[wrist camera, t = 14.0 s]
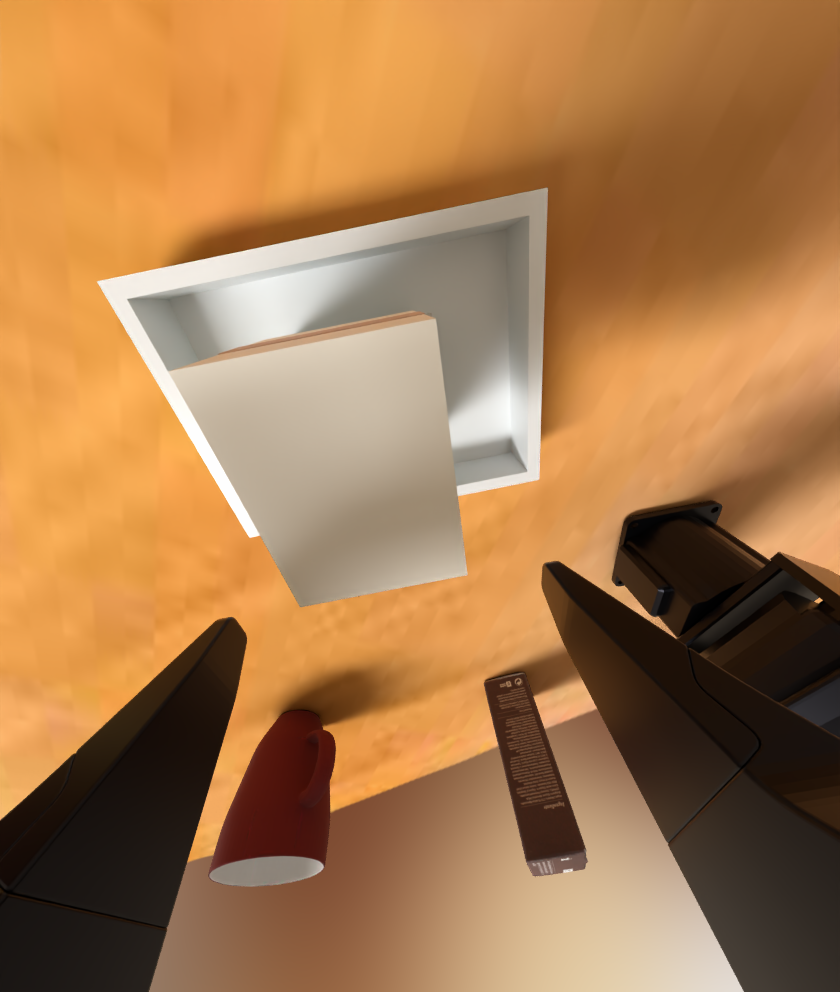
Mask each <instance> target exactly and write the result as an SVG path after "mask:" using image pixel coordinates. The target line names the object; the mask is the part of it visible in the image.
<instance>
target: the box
mask: <svg viewBox="0 0 840 992" xmlns="http://www.w3.org/2000/svg"><path fill="white" fill-rule="evenodd" d="M484 686H485V691H486V695H487V700H488V704H489V708H490V712H491V716H492V720H493V725H494V729H495V733H496V737H497V741H498V746H499V749H500V753H501V757H502V761H503V765H504V770H505V774H506V778H507V782H508V787H509V791H510V795H511V799H512V804H513V808H514V812H515V815H516V820H517V824H518V828H519V833H520V837H521V841H522V846H523V850H524V854H525V859H526V862H527V865H528V866H529V869H530V871H531V873H532V874H533V876H543V875H551V874H558V873H564V872H570V871H576V870H583V869H585V866H586V863H587V862H588V861H587V858H586V848H585V845H584V842H583V839H582V836H581V834H580V831H579V828H578V825H577V822H576V819H575V816H574V813H573V810H572V807H571V804H570V801H569V798H568V796H567V793H566V790H565V787H564V784H563V781H562V779H561V776H560V773H559V770H558V767H557V764H556V761H555V758H554V755H553V752H552V750H551V747H550V744H549V740H548V738H547V735H546V732H545V729H544V726H543V723H542V721H541V718H540V715H539V712H538V709H537V706H536V703H535V700H534V697H533V694H532V692H531V689H530V686H529V683H528V680H527V677H526V674H525V673H514V674H510V675H505V676H502V677H498V678H496V679H492V680H489V681H486V682H484Z"/></svg>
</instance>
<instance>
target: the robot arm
mask: <svg viewBox="0 0 840 992" xmlns="http://www.w3.org/2000/svg"><path fill="white" fill-rule="evenodd" d="M721 510H722V505H721V504H720V503H718V502H716V501H708V502H703V503H698V504H693V505H688V506H683V507H678V508H673V509H667V510H662V511H657V512H652V513H647V514H642V515H637V516H632V517H629V518H628V519H626V520H625V521H624V524H623V528H622V533H621V538H620V542H619V547H618V552H617V557H616V561H615V566H614V571H613V576H612V581H613V583H614V584H615V585H616V586H624V585H625V586H626V587H627V588H628V590H629V591H630V592H631V593H632V594H633V596H634V597H635V598H636V599H637V600H638V601H639V603H640V604H641V605H642V606H643V607H644V609H645V610H646V611H647V612H648V613H649V614H650V615H651V616H653V617H657V616H659V618H660V619H661V620H662V621H663V622H664V623H665V624H666V626H667V627H668V628H669V629H670V630H671V631H672V632H673V634H674V635H675V636H676V637H677V639H676V638H674V637H673V636H671V635H670V634H668V633H667V632H665V631H664V630H662V629H660V628H659V627H657V626H656V625H654V624H653V623H651V622H650V621H648V620H647V619H645V618H644V617H642V616H641V615H639V614H638V613H636V612H635V611H633V610H632V609H630V608H629V607H627V606H626V605H624V604H623V603H621V602H620V601H618V600H617V599H615V598H614V597H612V596H611V595H609V594H608V593H606V592H605V591H603V590H602V589H600V588H599V587H597V586H596V585H594V584H592V583H591V582H589V581H588V580H586V579H585V578H583V577H582V576H580V575H579V574H577V573H576V572H574V571H573V570H571V569H570V568H568V567H567V566H565V565H564V564H562V563H561V562H559V561H553V562H547V563H544V564H543V568H542V582H541V584H542V589H543V592H544V595H545V597H546V600H547V603H548V605H549V608H550V610H551V613H552V615H553V618H554V621H555V623H556V626H557V628H558V631H559V633H560V636H561V638H562V641H563V643H564V645H565V647H566V649H567V651H568V653H569V655H570V657H571V659H572V661H573V662H574V664H575V666H576V668H577V670H578V672H579V674H580V676H581V678H582V680H583V682H584V684H585V686H586V688H587V689H588V691H589V693H590V695H591V697H592V699H593V701H594V703H595V705H596V707H597V709H598V711H599V712H600V715H601V716H602V718H603V720H604V722H605V724H606V726H607V728H608V730H609V732H610V734H611V735H612V737H613V740H614V741H615V743H616V745H617V747H618V749H619V751H620V753H621V755H622V757H623V759H624V761H625V763H626V765H627V767H628V768H629V770H630V772H631V774H632V776H633V778H634V780H635V782H636V784H637V786H638V788H639V790H640V792H641V794H642V795H643V797H644V799H645V801H646V803H647V805H648V807H649V809H650V811H651V813H652V815H653V816H654V819H655V820H656V822H657V824H658V826H659V828H660V830H661V832H662V834H663V836H664V838H665V840H666V841H667V842H668V846H669V848H670V850H671V852H672V853H673V856H674V857H675V860H676V861H677V863H678V865H679V867H680V869H681V871H682V873H683V875H684V877H685V879H686V881H687V883H688V884H689V887H690V888H691V890H692V892H693V894H694V896H695V898H696V900H697V902H698V904H699V906H700V908H701V910H702V912H703V913H704V915H705V917H706V919H707V921H708V923H709V925H710V927H711V929H712V931H713V933H714V935H715V937H716V939H717V940H718V942H719V944H720V946H721V948H722V950H723V952H724V954H725V956H726V958H727V960H728V962H729V964H730V966H731V968H732V969H733V971H734V973H735V975H736V977H737V979H738V981H739V983H740V985H741V987H742V989H743V991H744V992H840V576H839V575H837V574H835V573H834V572H832V571H830V570H828V569H825V568H822V567H819V566H817V565H814V564H811V563H808V562H806V561H803V560H800V559H797V558H795V557H792V556H789V555H786V554H784V553H781V552H778V553H777V554H775V555H774V556H773V557H772V558H771V559H770V560H771V561H770V560H769V559H767V558H766V557H764V556H763V555H761V554H760V553H758V552H757V551H755V550H754V549H752V548H751V547H749V546H748V545H746V544H745V543H743V542H742V541H740V540H739V539H737V538H736V537H734V536H733V535H731V534H730V533H728V532H727V531H725V530H724V529H722V528H721V527H720V526H718V525H717V524H716V522H717V520H718V517H719V515H720V512H721ZM819 597H820V598H821V599H822V600H823V601H822V602H820V603H819V604H818V603H816V602H814V601H815V600H817V599H818V598H819ZM246 644H247V636H246V633H245V632H244V630H243V629H242V627H241V626H240V625H239V623H238V622H237V620H236V619H235V618H233V617H228V618H222V619H219V620H217V621H215V622H214V623H213V624H212V625H211V626H210V627H209V628H208V629H207V630H205V631H204V632H203V633H202V634H201V635H200V636H199V637H198V638H197V639H196V640H195V641H194V642H193V643H192V644H190V645H189V646H188V647H187V648H186V649H185V650H184V651H183V652H182V653H181V654H180V655H179V656H178V657H177V658H176V659H174V660H173V661H172V662H171V663H170V664H169V665H168V666H167V667H166V668H165V669H164V670H163V671H162V672H161V673H159V674H158V675H157V676H156V677H155V678H154V679H153V680H152V681H151V682H150V683H149V684H148V685H147V686H146V687H144V688H143V689H142V690H141V691H140V692H139V693H138V694H137V695H136V696H135V697H134V698H133V699H132V700H131V701H129V702H128V703H127V704H126V705H125V706H124V707H123V708H122V709H121V710H120V711H119V712H118V713H117V714H116V715H114V716H113V717H112V718H111V719H110V720H109V721H108V722H107V723H106V724H105V725H104V726H103V727H102V728H101V729H100V730H98V731H97V732H96V733H95V734H94V735H93V736H92V737H91V738H90V739H89V740H88V741H87V742H86V743H85V744H83V745H82V746H81V747H80V748H79V749H78V750H77V752H76V753H75V754H73V755H72V756H70V757H69V758H68V759H67V760H66V761H65V762H64V763H63V764H62V765H61V766H60V767H59V768H58V769H57V770H56V771H54V772H53V773H52V774H51V775H50V776H49V777H48V778H47V779H46V780H45V781H44V782H42V783H41V784H40V785H39V786H38V787H37V788H36V789H35V790H34V791H33V792H32V793H30V794H29V795H28V796H27V797H26V798H25V799H24V800H23V801H22V802H20V803H19V804H18V805H17V806H16V807H15V808H14V809H12V810H11V811H10V812H9V813H8V814H7V815H6V816H5V817H3V818H2V819H1V820H0V992H149V990H150V986H151V983H152V979H153V976H154V973H155V969H156V966H157V963H158V959H159V956H160V952H161V949H162V946H163V942H164V939H165V936H166V932H167V926H168V925H169V921H170V918H171V915H172V911H173V908H174V905H175V901H176V898H177V894H178V891H179V887H180V884H181V881H182V877H183V874H184V871H185V867H186V864H187V861H188V857H189V854H190V851H191V847H192V844H193V841H194V837H195V834H196V830H197V827H198V824H199V820H200V817H201V814H202V810H203V807H204V804H205V800H206V797H207V793H208V790H209V787H210V783H211V780H212V777H213V773H214V770H215V767H216V763H217V760H218V756H219V753H220V750H221V746H222V743H223V740H224V736H225V733H226V729H227V726H228V723H229V719H230V716H231V713H232V709H233V706H234V702H235V698H236V694H237V690H238V685H239V680H240V675H241V670H242V665H243V659H244V654H245V649H246Z"/></svg>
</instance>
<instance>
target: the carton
mask: <svg viewBox="0 0 840 992" xmlns="http://www.w3.org/2000/svg"><path fill="white" fill-rule="evenodd" d="M168 372H169V374H170V376H171V378H172V379H173V381H174V383H175V385H176V386H177V388H178V390H179V392H180V394H181V395H182V397H183V399H184V401H185V402H186V404H187V406H188V408H189V410H190V411H191V413H192V415H193V417H194V419H195V420H196V422H197V424H198V426H199V427H200V429H201V431H202V433H203V435H204V436H205V438H206V440H207V442H208V444H209V445H210V447H211V449H212V451H213V452H214V454H215V456H216V458H217V460H218V461H219V463H220V465H221V467H222V468H223V470H224V472H225V474H226V476H227V477H228V479H229V481H230V483H231V485H232V486H233V488H234V490H235V492H236V493H237V495H238V497H239V499H240V501H241V502H242V504H243V506H244V508H245V510H246V511H247V513H248V515H249V517H250V518H251V520H252V522H253V524H254V526H255V527H256V529H257V531H258V533H259V535H260V536H261V538H262V540H263V542H264V543H265V545H266V547H267V549H268V551H269V552H270V554H271V556H272V558H273V559H274V561H275V563H276V565H277V567H278V568H279V570H280V572H281V574H282V576H283V577H284V579H285V581H286V583H287V584H288V586H289V588H290V590H291V592H292V593H293V595H294V597H295V599H296V601H297V602H298V604H299V606H300V607H304V606H309V605H314V604H320V603H325V602H330V601H335V600H340V599H346V598H351V597H356V596H361V595H366V594H371V593H377V592H382V591H387V590H392V589H397V588H403V587H408V586H413V585H418V584H423V583H429V582H434V581H439V580H444V579H449V578H455V577H460V576H465V575H467V567H466V558H465V550H464V542H463V534H462V526H461V518H460V510H459V502H458V494H457V485H456V477H455V469H454V461H453V453H452V445H451V437H450V429H449V421H448V412H447V404H446V396H445V388H444V380H443V372H442V364H441V356H440V348H439V339H438V331H437V323H436V318H433V317H430V316H428V315H425V313H423V312H420V311H418V312H416V311H413V310H412V311H407V312H402V313H397V314H392V315H387V316H382V317H377V318H372V319H366V320H361V321H356V322H351V323H346V324H341V325H336V326H331V327H326V328H321V329H316V330H311V331H306V332H301V333H296V334H291V335H286V336H281V337H276V338H271V339H266V340H262V341H259V342H256V343H253V344H250V345H247V346H241V347H237V348H234V349H231V350H228V351H225V352H222V353H219V354H218V355H216V356H213V357H210V358H207V359H204V360H201V361H198V362H195V363H192V364H189V365H186V366H183V367H180V368H177V369H174V370H171V371H168Z"/></svg>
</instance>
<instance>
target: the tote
mask: <svg viewBox="0 0 840 992" xmlns="http://www.w3.org/2000/svg"><path fill="white" fill-rule="evenodd" d="M547 203H548V187H547V188H543V189H538V190H533V191H528V192H523V193H519V194H514V195H509V196H504V197H499V198H495V199H490V200H485V201H480V202H476V203H471V204H466V205H461V206H456V207H452V208H447V209H442V210H437V211H432V212H428V213H423V214H418V215H413V216H408V217H404V218H399V219H394V220H389V221H384V222H380V223H375V224H370V225H365V226H361V227H356V228H351V229H346V230H341V231H337V232H332V233H327V234H322V235H317V236H313V237H308V238H303V239H298V240H293V241H289V242H284V243H279V244H274V245H269V246H265V247H260V248H255V249H250V250H246V251H241V252H236V253H231V254H226V255H222V256H217V257H212V258H207V259H202V260H198V261H193V262H188V263H183V264H178V265H174V266H169V267H164V268H159V269H154V270H150V271H145V272H140V273H135V274H131V275H126V276H121V277H116V278H111V279H107V280H102V281H97V282H98V284H99V286H100V287H101V289H102V291H103V292H104V294H105V296H106V297H107V299H108V301H109V302H110V304H111V306H112V308H113V309H114V311H115V313H116V314H117V316H118V318H119V319H120V321H121V323H122V324H123V326H124V328H125V329H126V331H127V333H128V334H129V336H130V338H131V339H132V341H133V343H134V344H135V346H136V348H137V350H138V351H139V353H140V355H141V356H142V358H143V360H144V361H145V363H146V365H147V366H148V368H149V370H150V371H151V373H152V375H153V376H154V378H155V380H156V381H157V383H158V385H159V386H160V388H161V390H162V392H163V393H164V395H165V397H166V398H167V400H168V402H169V403H170V405H171V407H172V408H173V410H174V412H175V413H176V415H177V417H178V418H179V420H180V422H181V423H182V425H183V427H184V428H185V430H186V432H187V434H188V435H189V437H190V439H191V440H192V442H193V444H194V445H195V447H196V449H197V450H198V452H199V454H200V455H201V457H202V459H203V460H204V462H205V464H206V465H207V467H208V469H209V470H210V472H211V474H212V476H213V477H214V479H215V481H216V482H217V484H218V486H219V487H220V489H221V491H222V492H223V494H224V496H225V497H226V499H227V501H228V502H229V504H230V506H231V507H232V509H233V511H234V512H235V514H236V516H237V518H238V519H239V521H240V523H241V524H242V526H243V528H244V529H245V531H246V533H247V534H248V536H249V538H250V537H255V536H260V535H259V533H258V531H257V529H256V527H255V526H254V524H253V522H252V520H251V518H250V517H249V515H248V513H247V511H246V510H245V508H244V506H243V504H242V502H241V501H240V499H239V497H238V495H237V493H236V492H235V490H234V488H233V486H232V485H231V483H230V481H229V479H228V477H227V476H226V474H225V472H224V470H223V468H222V467H221V465H220V463H219V461H218V460H217V458H216V456H215V454H214V452H213V451H212V449H211V447H210V445H209V444H208V442H207V440H206V438H205V436H204V435H203V433H202V431H201V429H200V427H199V426H198V424H197V422H196V420H195V419H194V417H193V415H192V413H191V411H190V410H189V408H188V406H187V404H186V402H185V401H184V399H183V397H182V395H181V394H180V392H179V390H178V388H177V386H176V385H175V383H174V381H173V379H172V378H171V376H170V374H169V372H168V371H171V370H174V369H177V368H180V367H183V366H186V365H189V364H192V363H195V362H198V361H201V360H204V359H207V358H210V357H213V356H216V355H218V354H219V353H222V352H225V351H228V350H231V349H234V348H237V347H241V346H247V345H250V344H253V343H256V342H259V341H262V340H266V339H271V338H276V337H281V336H286V335H291V334H296V333H301V332H306V331H311V330H316V329H321V328H326V327H331V326H336V325H341V324H346V323H351V322H356V321H361V320H366V319H372V318H377V317H382V316H387V315H392V314H397V313H402V312H407V311H412V310H413V311H416V312H418V311H420V312H423V313H429V312H430V313H432V317H433V318H436V323H437V331H438V339H439V348H440V356H441V364H442V372H443V380H444V388H445V396H446V404H447V412H448V421H449V429H450V437H451V445H452V453H453V461H454V469H455V477H456V485H457V494H458V496H460V495H465V494H470V493H475V492H480V491H485V490H490V489H495V488H500V487H505V486H510V485H515V484H520V483H525V482H530V481H535V480H539V469H540V436H541V402H542V369H543V336H544V303H545V269H546V236H547Z"/></svg>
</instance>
